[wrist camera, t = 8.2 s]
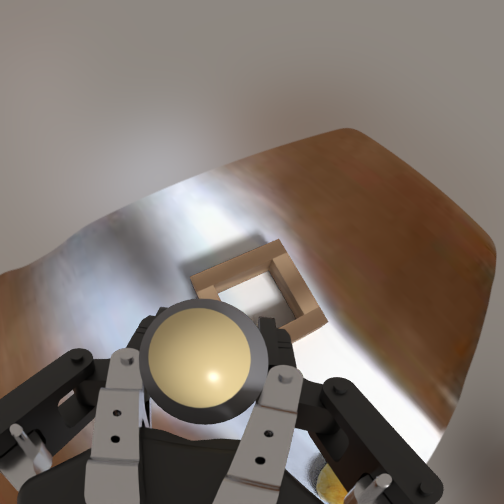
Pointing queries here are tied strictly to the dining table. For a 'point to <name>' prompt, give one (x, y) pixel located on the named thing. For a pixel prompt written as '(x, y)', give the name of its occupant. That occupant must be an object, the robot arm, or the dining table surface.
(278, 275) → the socket
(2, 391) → the dining table surface
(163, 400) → the plug
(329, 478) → the bread roll
